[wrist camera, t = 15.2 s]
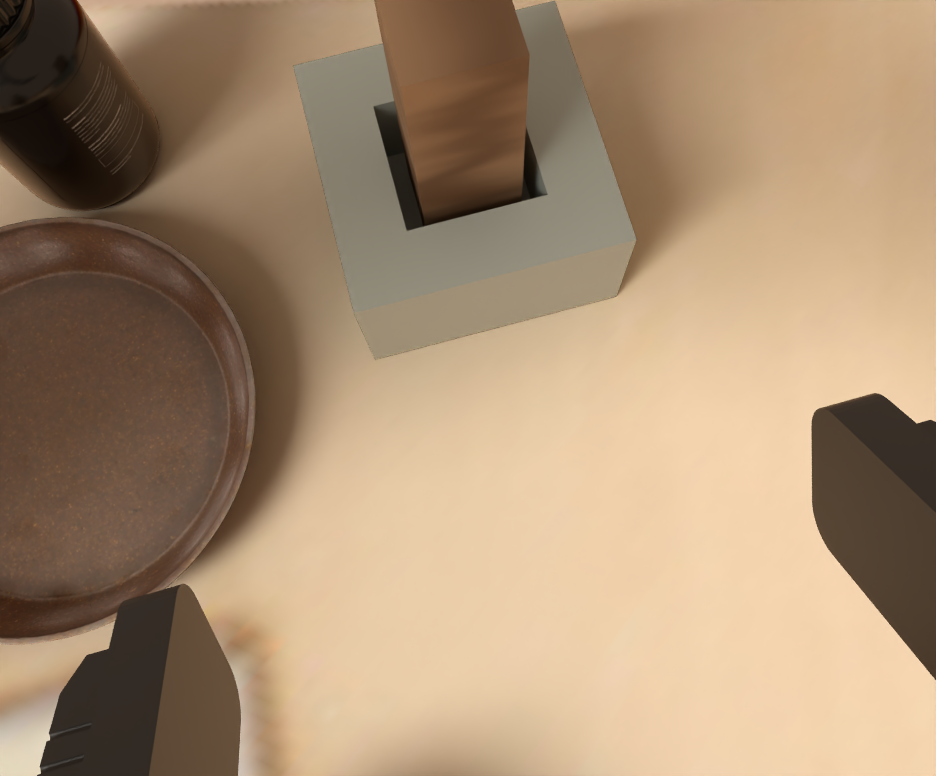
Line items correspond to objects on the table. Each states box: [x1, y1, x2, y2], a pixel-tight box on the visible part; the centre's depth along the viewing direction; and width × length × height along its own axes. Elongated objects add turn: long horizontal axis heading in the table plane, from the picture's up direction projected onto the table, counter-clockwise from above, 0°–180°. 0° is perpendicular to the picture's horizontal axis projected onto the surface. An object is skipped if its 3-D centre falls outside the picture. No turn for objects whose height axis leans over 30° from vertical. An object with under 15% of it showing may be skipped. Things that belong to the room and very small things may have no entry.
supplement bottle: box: [0, 0, 159, 211], centre depth 37 cm, size 7×7×12 cm
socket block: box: [293, 1, 637, 360], centre depth 38 cm, size 11×11×6 cm
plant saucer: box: [0, 217, 255, 645], centre depth 38 cm, size 18×18×3 cm
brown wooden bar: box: [374, 0, 530, 227], centre depth 33 cm, size 4×4×12 cm
